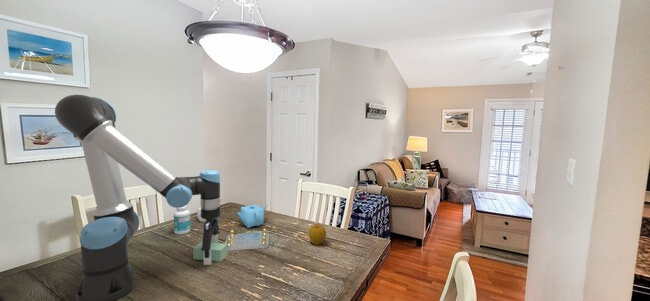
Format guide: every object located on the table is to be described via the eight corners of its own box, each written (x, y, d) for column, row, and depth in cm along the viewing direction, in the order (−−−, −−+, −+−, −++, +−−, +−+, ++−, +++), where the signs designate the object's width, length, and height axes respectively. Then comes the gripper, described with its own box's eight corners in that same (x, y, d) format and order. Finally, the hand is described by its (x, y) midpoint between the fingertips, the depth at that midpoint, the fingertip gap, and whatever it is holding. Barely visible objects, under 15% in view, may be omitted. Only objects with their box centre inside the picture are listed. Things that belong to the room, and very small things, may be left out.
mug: (194, 222, 151) (193, 209, 151) (201, 217, 160) (201, 204, 159) (214, 223, 151) (214, 210, 150) (221, 218, 159) (221, 205, 158)
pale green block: (227, 255, 116) (227, 244, 115) (220, 262, 110) (220, 250, 109) (201, 252, 117) (201, 241, 117) (193, 259, 111) (193, 248, 111)
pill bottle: (173, 231, 139) (172, 205, 138) (189, 228, 143) (188, 203, 142) (174, 236, 133) (174, 209, 132) (191, 233, 137) (190, 207, 136)
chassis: (269, 235, 137) (269, 227, 136) (268, 247, 123) (268, 238, 123) (228, 237, 133) (228, 228, 132) (222, 250, 119) (222, 240, 119)
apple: (329, 244, 129) (330, 226, 128) (315, 248, 124) (315, 230, 123) (318, 238, 135) (319, 221, 135) (305, 242, 130) (305, 224, 129)
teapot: (232, 223, 151) (232, 204, 150) (262, 217, 162) (262, 199, 161) (242, 233, 139) (242, 212, 138) (274, 226, 150) (274, 206, 149)
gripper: (213, 217, 100) (214, 271, 102) (225, 199, 125) (225, 242, 127) (192, 218, 99) (193, 272, 101) (208, 199, 123) (208, 243, 125)
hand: (211, 256), depth 114 cm, fingers open, 13 cm apart
